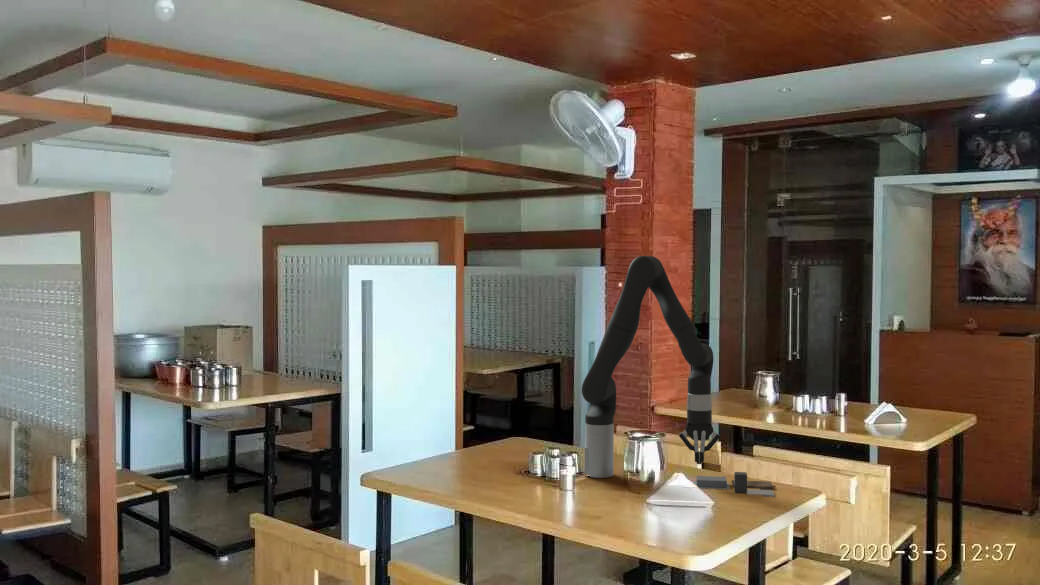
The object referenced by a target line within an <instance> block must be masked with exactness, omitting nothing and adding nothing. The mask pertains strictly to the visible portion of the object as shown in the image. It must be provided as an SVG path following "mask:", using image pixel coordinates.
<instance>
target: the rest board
mask: <svg viewBox="0 0 1040 585" xmlns="http://www.w3.org/2000/svg"><path fill="white" fill-rule="evenodd" d="M731 484H732V488H734V479H733V480H732V479H731ZM747 489H759V490H773V491H774V485H773V483H772V481H766V480H765V481H764V480H763V481H761V480H747Z"/></svg>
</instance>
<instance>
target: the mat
mask: <svg viewBox="0 0 1040 585" xmlns="http://www.w3.org/2000/svg"><path fill="white" fill-rule="evenodd" d="M692 482H693V483H694V484H696V485H697V483H696V481H692ZM698 489H713V490H715V489H716V490H717V489H718V490H730V489H731V488H730V484H729V482H727V488H718V487H699V488H698Z"/></svg>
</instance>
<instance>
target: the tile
mask: <svg viewBox="0 0 1040 585" xmlns="http://www.w3.org/2000/svg"><path fill="white" fill-rule="evenodd" d="M695 482H696V483H697V486H698V487H718V488H727V483H728V482H727V477H726V476H718V475H717V476H713V475H711V476H710V475H696V481H695Z"/></svg>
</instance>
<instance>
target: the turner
mask: <svg viewBox="0 0 1040 585" xmlns="http://www.w3.org/2000/svg"><path fill="white" fill-rule="evenodd" d="M733 474H734V476H733V477H734V478H733V480H734V487H733V489H734V493H735V494H746V495H751V496H752V495H753V496H762V497H765V498H766V497H769V498H770V497H771V498H775V493H774V489H773V490H760V489H757V488H747V481H748V474H747V472H746V471H734V473H733Z"/></svg>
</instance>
